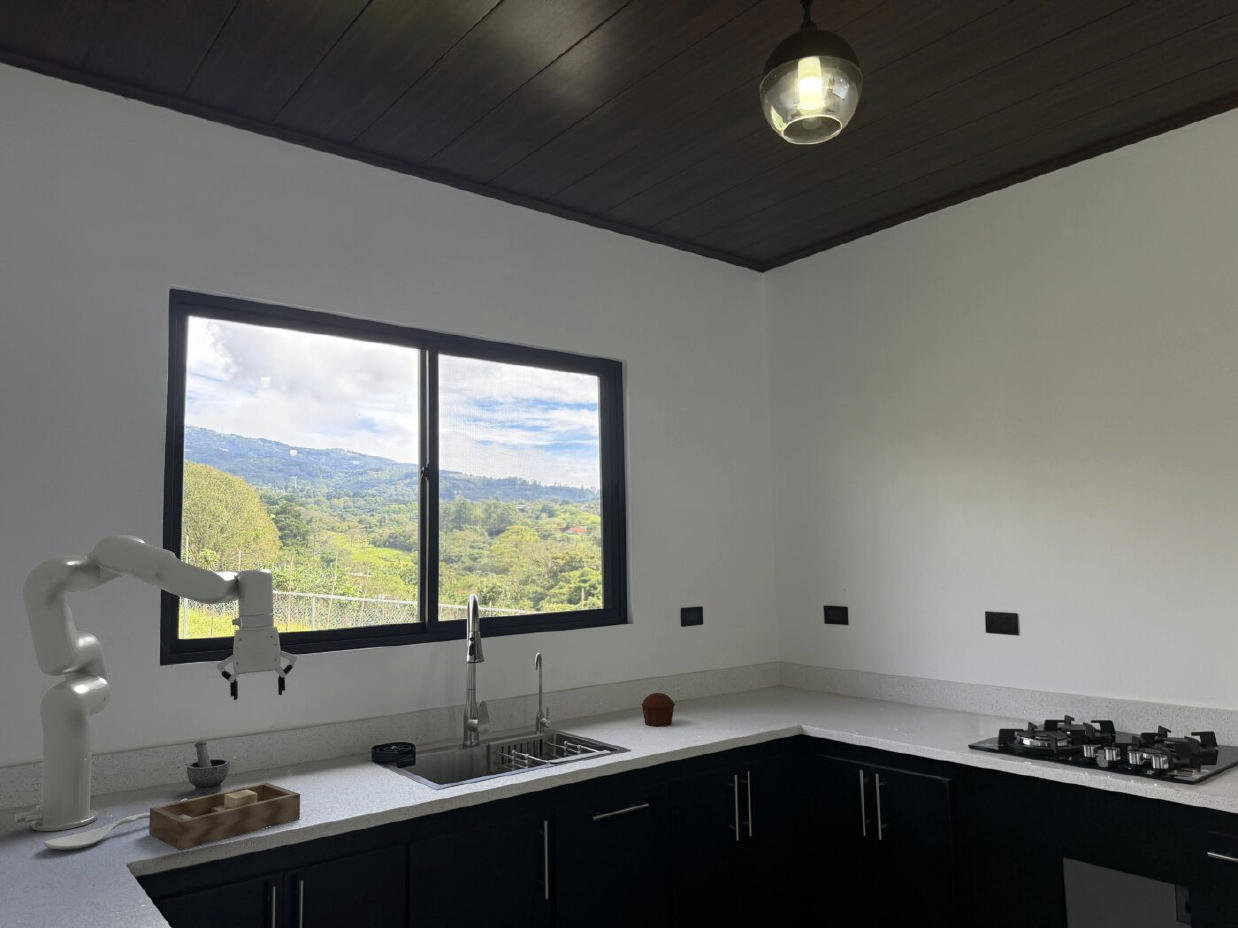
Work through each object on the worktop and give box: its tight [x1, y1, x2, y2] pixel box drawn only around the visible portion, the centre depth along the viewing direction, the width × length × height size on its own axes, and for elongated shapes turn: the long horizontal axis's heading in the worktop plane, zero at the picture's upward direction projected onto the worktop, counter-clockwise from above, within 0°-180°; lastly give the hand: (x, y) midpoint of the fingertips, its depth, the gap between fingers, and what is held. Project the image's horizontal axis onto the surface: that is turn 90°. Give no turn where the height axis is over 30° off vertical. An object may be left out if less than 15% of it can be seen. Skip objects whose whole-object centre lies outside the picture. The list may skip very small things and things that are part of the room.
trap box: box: [148, 782, 301, 851], centre depth 194 cm, size 26×16×6 cm, turn 138°
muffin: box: [640, 692, 676, 728], centre depth 295 cm, size 12×11×10 cm
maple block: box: [224, 790, 257, 810], centre depth 194 cm, size 5×5×4 cm
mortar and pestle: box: [186, 740, 231, 796], centre depth 224 cm, size 11×9×12 cm
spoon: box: [43, 798, 188, 851], centre depth 191 cm, size 9×32×4 cm, turn 146°
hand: (258, 696), depth 205 cm, fingers open, 9 cm apart
